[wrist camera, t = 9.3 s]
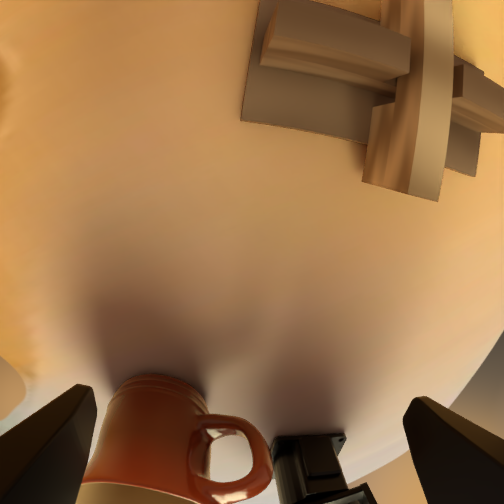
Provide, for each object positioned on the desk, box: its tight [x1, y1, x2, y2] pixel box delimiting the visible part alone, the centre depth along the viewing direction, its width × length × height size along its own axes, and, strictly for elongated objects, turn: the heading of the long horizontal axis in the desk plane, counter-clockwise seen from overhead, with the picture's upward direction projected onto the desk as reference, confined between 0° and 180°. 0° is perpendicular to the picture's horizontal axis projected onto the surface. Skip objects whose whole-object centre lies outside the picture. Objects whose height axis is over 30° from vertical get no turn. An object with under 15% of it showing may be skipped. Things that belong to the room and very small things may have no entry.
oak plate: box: [362, 0, 454, 202], centre depth 13 cm, size 12×2×5 cm, turn 172°
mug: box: [76, 374, 273, 504], centre depth 17 cm, size 12×9×10 cm
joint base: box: [241, 0, 504, 177], centre depth 14 cm, size 8×16×6 cm, turn 82°
